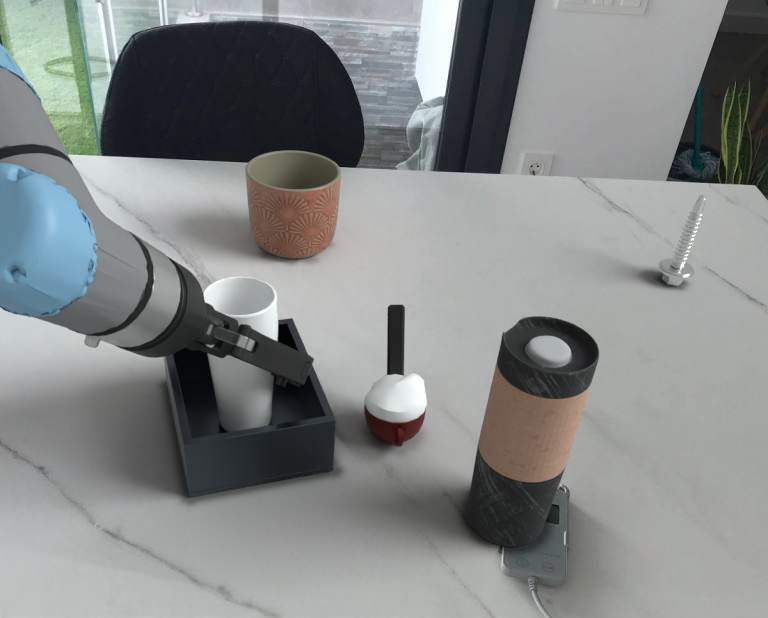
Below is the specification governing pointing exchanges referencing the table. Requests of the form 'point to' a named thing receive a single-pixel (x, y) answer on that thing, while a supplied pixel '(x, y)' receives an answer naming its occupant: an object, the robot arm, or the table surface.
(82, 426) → the table surface
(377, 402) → the cocoa
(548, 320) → the travel mug
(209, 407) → the dark storage bin
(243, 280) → the white cup
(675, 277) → the screw
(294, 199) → the planter
